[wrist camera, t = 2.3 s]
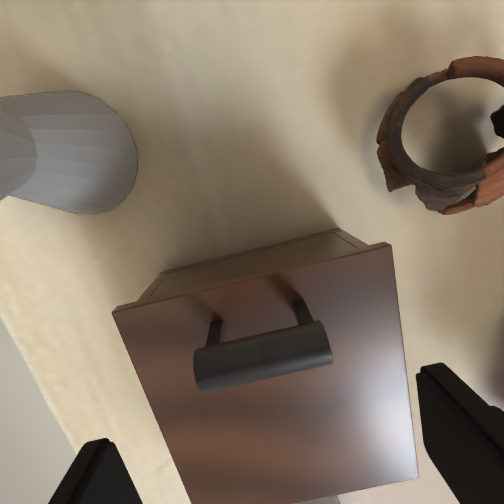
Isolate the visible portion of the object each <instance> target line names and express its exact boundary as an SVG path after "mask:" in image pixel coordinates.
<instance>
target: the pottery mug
mask: <svg viewBox="0 0 504 504" xmlns="http://www.w3.org/2000/svg"><path fill="white" fill-rule="evenodd" d="M464 77H477V78H484V79H488V80H491V81H494V82H496V83H498V84H499V85H501V86H503V87H504V60H502V59H499V58H491V57H481V56H473V57H467V58H461V59H457V60H454V61H452V62H451V64H450V66H449V68H448V69H445V70H443V71H441V72H436V73H433V74H430V75H428V76H426V77H420V78H417V79H416V80H414V81H413V82H412V83H411V84H410V85H409V86H408V87H407V88H406V90H405V91H403V92H401V93H400V94H398V95H397V96H396V98H395V99H394V101H393V102H392V103H391V105H390V106H389V108H388V110H387V111H386V113H385V115H384V117H383V119H382V121H381V124H380V127H379V131H378V135H377V139H376V142H377V144H379V148H378V150H377V155H378V159H379V162H380V164H381V167H382V168H383V171H384V174H385V178H386V184H387V188H388V191H389V192H392V191H393V190H396V189H399V188H402V187H404V186H408V185H413V184H414V185H415V186H416V194H417V196H418V198H419V199H420V200H421V201H422V202H424V203H425V206H426V208H427V209H429V210H435V211H438V213H441V214H443V215H450V214H456V213H460V212H462V211H465V210H469V209H471V208H473V207H481V206H484V205H488V204H490V203H491V202H493V201H495V200H496V199H498V198H500V197H502V196H503V195H504V148H501V149H499V150H497V151H496V152H492V153H488V154H486V156H485V165H483V166H481V167H479V168H478V169H476V170H473V171H469V172H465V173H459V174H442V173H436V172H431V171H428V170H426V169H423V168H420V167H419V166H418V165H416V164H415V163H414V162H413V161H412V160H411V158H410V157H409V156H408V155H407V153H406V152H405V150H404V148H403V145H402V139H401V131H402V125H403V121H404V118H405V115H406V113H407V111H408V110H409V108H410V107H411V106H412V105H413V103H414V102H415V101H416V100H417V99H418V98H419V97H420V96H421V95H422V94H423V93H424V92H425V91H426V90H427V89H428V88H429V87H431V86H433V85H435V84H438V83H440V82H442V81H445V80H450V79H456V78H464ZM490 118H491V121H492V123H493V125H494V131H495V134H496V135H497V136H500V137H502V138H503V139H504V105H502V106H501V107H500V108H499V110H497V111H495V112H493V113H492V114H491V116H490ZM474 185H475V186H476V189H475V190H474V191H473V192H472V193H471V194H470V195H469V196H468V197H466V198H464V199H463V200H461V201H459V202H457V203H454V204H452V205H449V206H448V204H450V203H452V202H454V201H455V200H457V199H458V198H459V197H460V196H461V195H462V194H464V193H465V192H466V191H468V190H469V189H470V188H472V187H473V186H474Z"/></svg>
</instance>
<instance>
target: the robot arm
mask: <svg viewBox="0 0 504 504" xmlns="http://www.w3.org/2000/svg"><path fill="white" fill-rule="evenodd" d="M416 382H417V390H418V399H419V407H420V416H421V424H422V433H423V442H424V446H425V449H426V451H427V453H428V455H429V457H430V459H431V460H432V462H433V463H434V465H435V466H436V468H437V469H438V471H439V472H440V474H441V475H442V477H443V478H444V480H445V481H446V483H447V484H448V486H449V487H450V489H451V490H452V492H453V494H454V495H455V497H456V498H457V500H458V501H459V503H460V504H504V411H502V410H501V409H500V408H498V407H495V406H489V405H488V404H487V403H486V402H485V401H484V400H483V399H482V398H481V397H480V396H478V395H477V394H476V393H475V392H474V391H473V390H472V389H471V388H470V387H469V386H468V385H467V384H466V383H465V382H463V381H462V380H461V379H460V378H459V377H458V376H457V375H456V374H455V373H454V372H453V371H452V370H451V369H450V368H449V367H447V366H446V365H445V364H444V363H441V362H440V363H436V364H431V365H427V366H423V367H421V369H420V373H417V374H416ZM48 504H143V503H142V501H141V499H140V497H139V494H138V492H137V490H136V488H135V486H134V484H133V482H132V480H131V477H130V475H129V473H128V471H127V469H126V467H125V465H124V462H123V460H122V458H121V456H120V454H119V452H118V450H117V447H116V445H115V444H114V443H113V442H110V441H109V439H107V438H103V439H98V440H94V441H90V442H87V443H85V444H84V445H83V447H82V448H81V450H80V451H79V453H78V455H77V456H76V458H75V460H74V461H73V463H72V465H71V466H70V468H69V470H68V471H67V473H66V475H65V476H64V478H63V480H62V481H61V483H60V485H59V486H58V488H57V489H56V491H55V493H54V495H53V496H52V498H51V499H50V501H49V503H48Z"/></svg>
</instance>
